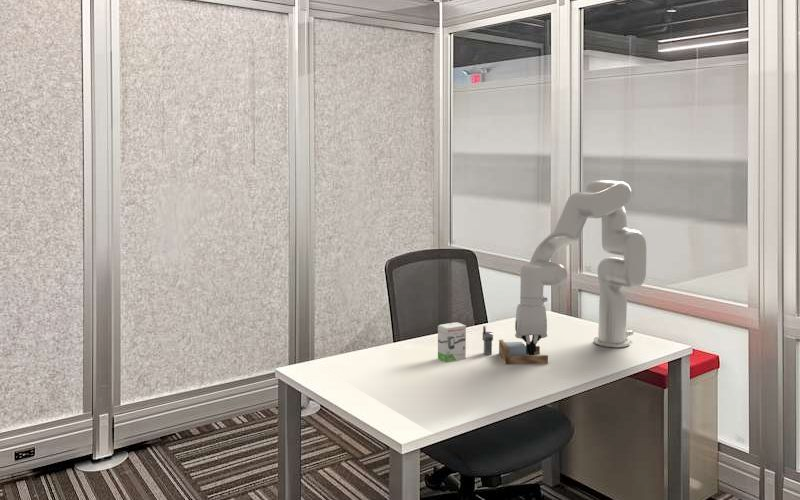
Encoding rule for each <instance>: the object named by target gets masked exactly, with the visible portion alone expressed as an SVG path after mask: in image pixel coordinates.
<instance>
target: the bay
mask: <svg viewBox="0 0 800 500" xmlns="http://www.w3.org/2000/svg"><path fill="white" fill-rule="evenodd" d="M505 342H506V341H504V340H503V339H499V340H498V354H499V356H500V357H501V359H502V360H503V362H504V364H505V365H522V364H523V365H524V364H525V365H529V364H530V365H531V364H533V365H534V364H535V365H536V364H539V365H540V364H549V355H548V354H540V352H541V351H540V348H541V346H540V345H536V352H534V355H529V354H528V353H527V352H526V356H510V349H509V348H508V346H507V345H506V343H505Z"/></svg>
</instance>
